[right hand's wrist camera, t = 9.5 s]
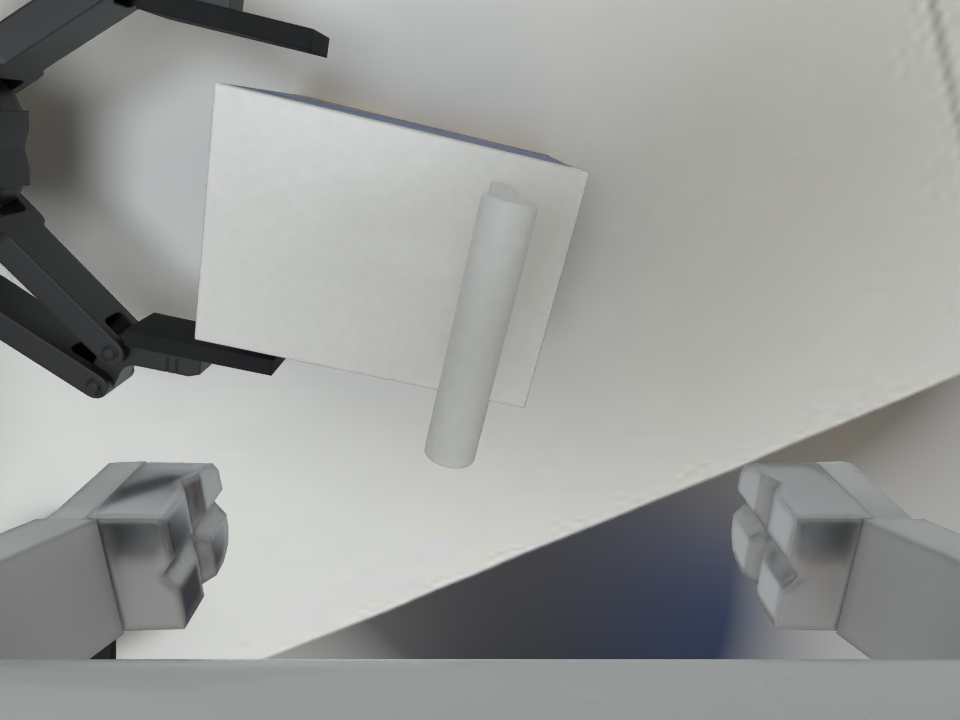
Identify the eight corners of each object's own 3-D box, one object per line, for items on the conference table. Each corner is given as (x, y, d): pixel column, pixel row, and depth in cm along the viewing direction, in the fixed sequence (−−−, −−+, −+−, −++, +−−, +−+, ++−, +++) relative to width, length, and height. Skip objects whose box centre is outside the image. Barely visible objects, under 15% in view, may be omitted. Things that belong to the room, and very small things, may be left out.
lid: (585, 170, 24) (640, 194, 16) (523, 398, 27) (542, 514, 19) (225, 83, 23) (87, 61, 15) (204, 331, 26) (81, 424, 18)
